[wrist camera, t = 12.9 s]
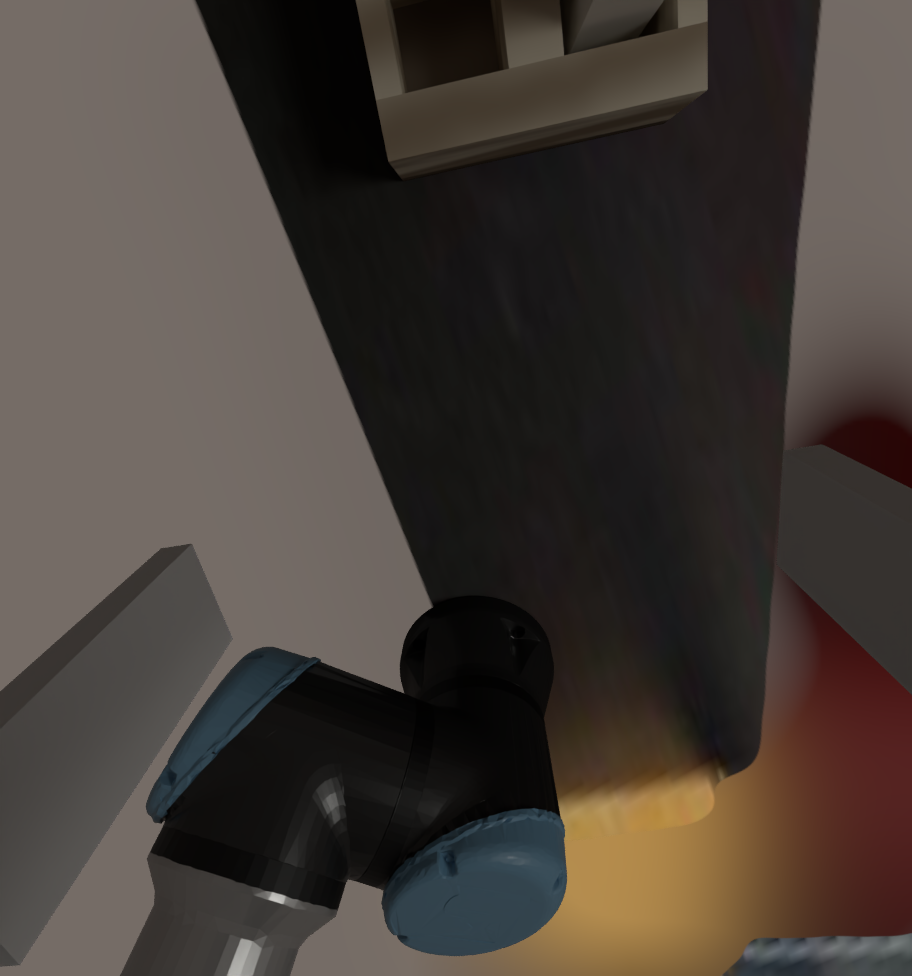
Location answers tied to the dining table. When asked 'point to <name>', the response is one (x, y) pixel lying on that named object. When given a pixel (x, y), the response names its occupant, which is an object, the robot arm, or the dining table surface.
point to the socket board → (518, 78)
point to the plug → (603, 22)
